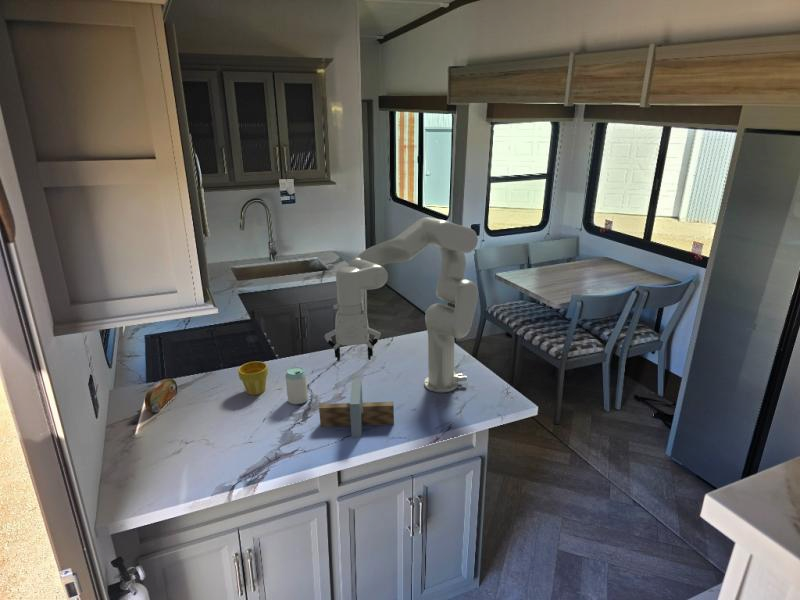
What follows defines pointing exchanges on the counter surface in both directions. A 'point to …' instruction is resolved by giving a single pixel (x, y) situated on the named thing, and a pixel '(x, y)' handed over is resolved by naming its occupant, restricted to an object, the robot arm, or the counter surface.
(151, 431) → the counter surface
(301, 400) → the can
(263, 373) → the plant pot
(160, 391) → the tin
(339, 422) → the walnut slotted board
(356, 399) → the plain grey board
